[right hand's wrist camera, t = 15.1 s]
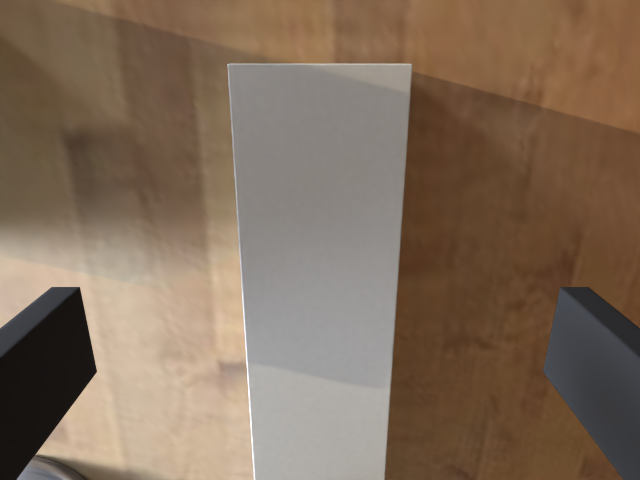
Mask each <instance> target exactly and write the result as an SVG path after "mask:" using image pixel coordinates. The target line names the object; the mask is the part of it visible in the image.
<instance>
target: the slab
mask: <svg viewBox="0 0 640 480" xmlns="http://www.w3.org/2000/svg"><path fill="white" fill-rule="evenodd" d="M228 80H229V96H230V111H231V127H232V142H233V158H234V173H235V189H236V204H237V220H238V235H239V250H240V266H241V281H242V297H243V312H244V328H245V343H246V359H247V374H248V390H249V405H250V421H251V436H252V452H253V467H254V480H385V470H386V455H387V440H388V425H389V410H390V395H391V380H392V365H393V350H394V335H395V320H396V305H397V290H398V275H399V260H400V245H401V230H402V215H403V200H404V185H405V170H406V155H407V140H408V125H409V110H410V95H411V80H412V64H228Z"/></svg>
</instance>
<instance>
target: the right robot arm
mask: <svg viewBox="0 0 640 480" xmlns="http://www.w3.org/2000/svg"><path fill="white" fill-rule="evenodd" d="M96 372H97V370H96V365H95V360H94V355H93V350H92V345H91V340H90V335H89V330H88V325H87V320H86V315H85V311H84V306H83V301H82V296H81V291H80V287H51V288H50V289H49V290H48V291H46V292H45V293H44V294H43V295H41V296H40V297H39V298H38V299H36V300H35V301H34V302H33V303H31V304H30V305H29V306H28V307H26V308H25V309H24V310H23V311H21V312H20V313H19V314H18V315H16V316H15V317H14V318H13V319H11V320H10V321H9V322H8V323H6V324H5V325H4V326H3V327H1V328H0V480H17V478H18V477H19V476H20V474H21V473H22V472H23V470H24V469H25V468H26V466H27V465H28V464H29V462H30V461H31V460H32V458H33V457H34V456H35V454H36V453H37V452H38V450H39V449H40V448H41V446H42V445H43V443H44V442H45V441H46V439H47V438H48V437H49V435H50V434H51V433H52V431H53V430H54V429H55V427H56V426H57V425H58V423H59V422H60V421H61V419H62V418H63V417H64V415H65V414H66V413H67V411H68V410H69V409H70V407H71V406H72V405H73V403H74V402H75V401H76V399H77V398H78V396H79V395H80V394H81V392H82V391H83V390H84V388H85V387H86V386H87V384H88V383H89V382H90V380H91V379H92V378H93V376H94V375H95V374H96ZM543 372H544V374H545V375H546V376H547V378H548V379H549V380H550V382H551V383H552V384H553V386H554V387H555V388H556V390H557V391H558V392H559V394H560V395H561V396H562V398H563V399H564V401H565V402H566V403H567V405H568V406H569V407H570V409H571V410H572V411H573V413H574V414H575V415H576V417H577V418H578V419H579V421H580V422H581V423H582V425H583V426H584V427H585V429H586V430H587V431H588V433H589V434H590V435H591V437H592V438H593V439H594V441H595V442H596V443H597V445H598V446H599V448H600V449H601V450H602V452H603V453H604V454H605V456H606V457H607V458H608V460H609V461H610V462H611V464H612V465H613V466H614V468H615V469H616V470H617V472H618V473H619V474H620V476H621V477H622V478H623V480H640V328H639V327H637V326H636V325H635V324H634V323H632V322H631V321H630V320H629V319H627V318H626V317H625V316H624V315H622V314H621V313H620V312H619V311H617V310H616V309H615V308H614V307H612V306H611V305H610V304H609V303H607V302H606V301H605V300H604V299H602V298H601V297H600V296H599V295H597V294H596V293H595V292H594V291H592V290H591V289H590V288H589V287H560V291H559V296H558V301H557V306H556V311H555V315H554V320H553V325H552V330H551V335H550V340H549V345H548V350H547V355H546V360H545V365H544V370H543Z"/></svg>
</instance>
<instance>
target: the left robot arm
mask: <svg viewBox="0 0 640 480" xmlns="http://www.w3.org/2000/svg"><path fill="white" fill-rule="evenodd" d="M17 480H86V479H85V478H83V477H82V476H81V475H79V474H78V473H76V472H75V471H73V470H71V469H70V468H68V467H66V466H64V465H62V464H59V463H57V462H54V461H52V460H49V459H45V458H41V457H37V456H34V457H33V458H32V460H31V461H30V462H29V464H28V465H27V466H26V468H25V469H24V470H23V472H22V473H21V474H20V476H19V477H18V478H17Z"/></svg>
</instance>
